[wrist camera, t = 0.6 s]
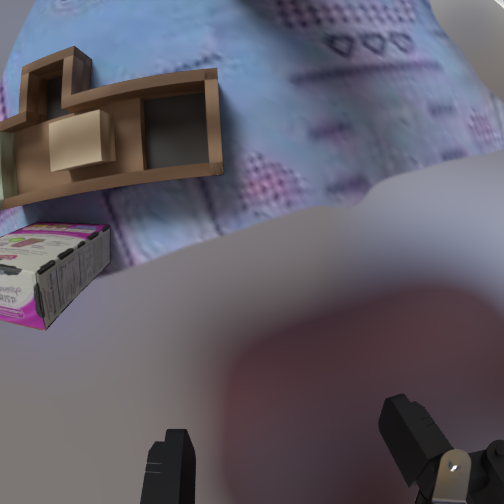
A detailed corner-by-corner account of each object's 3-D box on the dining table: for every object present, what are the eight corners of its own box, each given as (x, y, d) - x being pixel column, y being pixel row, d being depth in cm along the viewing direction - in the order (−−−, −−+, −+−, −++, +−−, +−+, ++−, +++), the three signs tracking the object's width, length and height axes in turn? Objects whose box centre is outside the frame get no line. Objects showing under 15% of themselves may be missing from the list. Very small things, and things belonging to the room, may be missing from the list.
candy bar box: (40, 258, 32) (-41, 311, 16) (37, 220, 30) (-52, 257, 15) (113, 265, 33) (45, 335, 17) (112, 224, 32) (34, 270, 16)
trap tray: (18, 86, 25) (-3, 79, 20) (215, 36, 27) (214, 17, 22) (21, 204, 30) (-2, 210, 25) (223, 173, 31) (223, 174, 27)
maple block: (66, 127, 26) (48, 123, 22) (113, 115, 27) (99, 109, 23) (69, 170, 28) (50, 171, 24) (116, 161, 28) (101, 160, 24)
